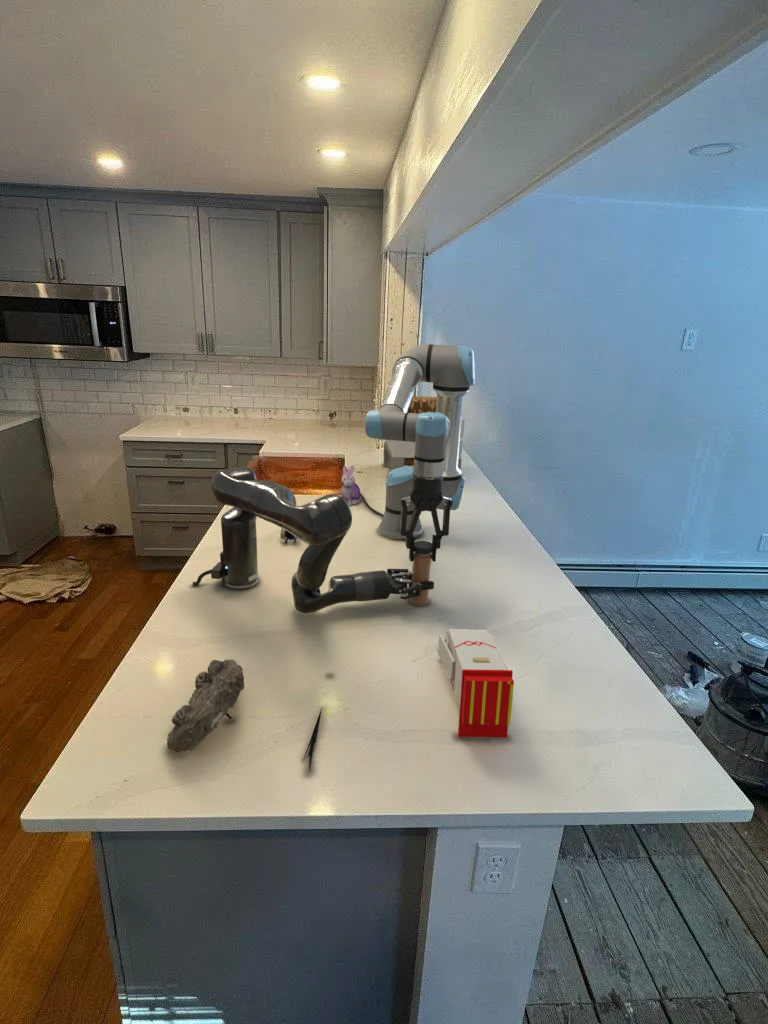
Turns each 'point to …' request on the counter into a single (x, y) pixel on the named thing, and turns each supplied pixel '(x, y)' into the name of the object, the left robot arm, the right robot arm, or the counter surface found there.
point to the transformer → (405, 451)
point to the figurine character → (287, 536)
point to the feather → (313, 740)
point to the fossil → (206, 705)
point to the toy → (478, 682)
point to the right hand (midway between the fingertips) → (422, 559)
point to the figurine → (350, 487)
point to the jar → (421, 576)
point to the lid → (423, 547)
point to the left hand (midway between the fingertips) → (429, 580)
